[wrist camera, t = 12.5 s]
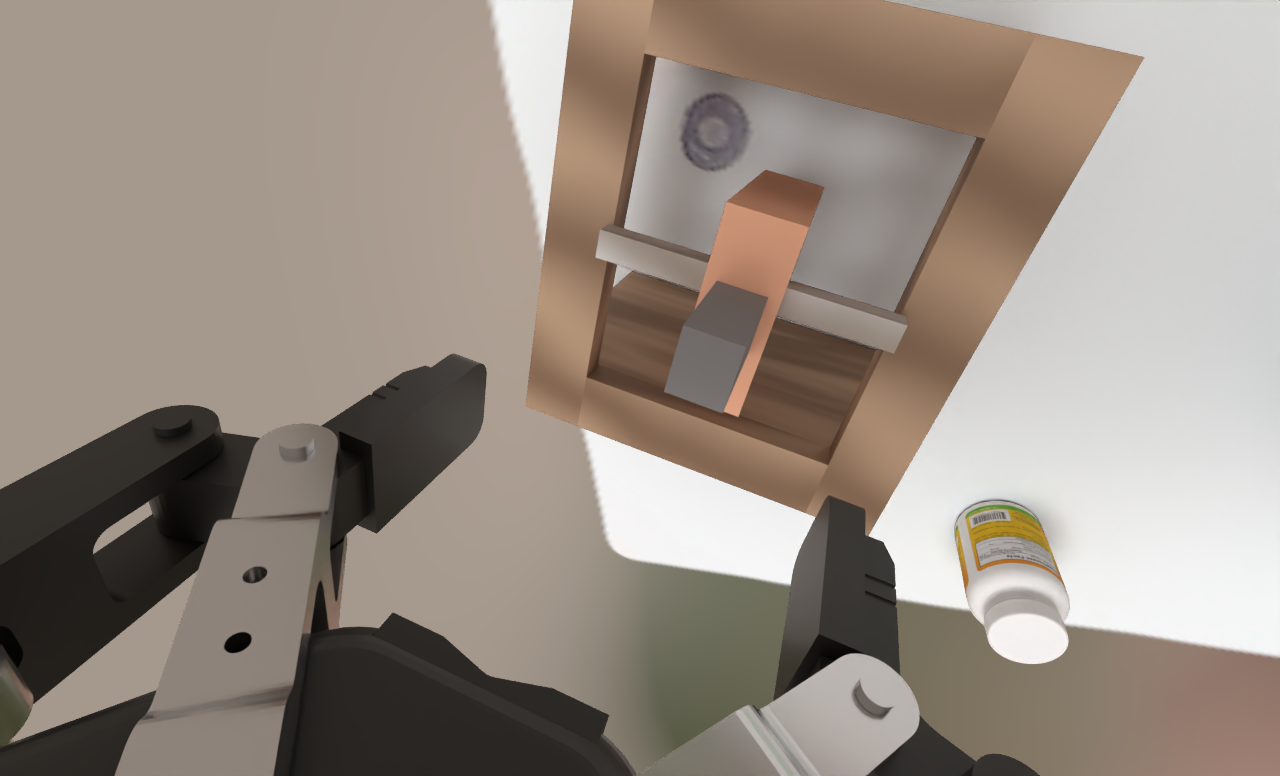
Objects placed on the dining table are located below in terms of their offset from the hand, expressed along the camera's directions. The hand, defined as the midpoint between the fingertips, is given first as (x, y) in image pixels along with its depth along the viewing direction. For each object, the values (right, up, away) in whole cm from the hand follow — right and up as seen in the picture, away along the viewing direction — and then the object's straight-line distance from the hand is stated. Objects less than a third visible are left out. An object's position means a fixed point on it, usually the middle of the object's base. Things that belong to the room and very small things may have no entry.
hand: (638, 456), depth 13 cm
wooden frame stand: (+9, +13, +23) cm, 28 cm away
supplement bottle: (+25, -8, +29) cm, 39 cm away
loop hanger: (+7, +9, +18) cm, 21 cm away
